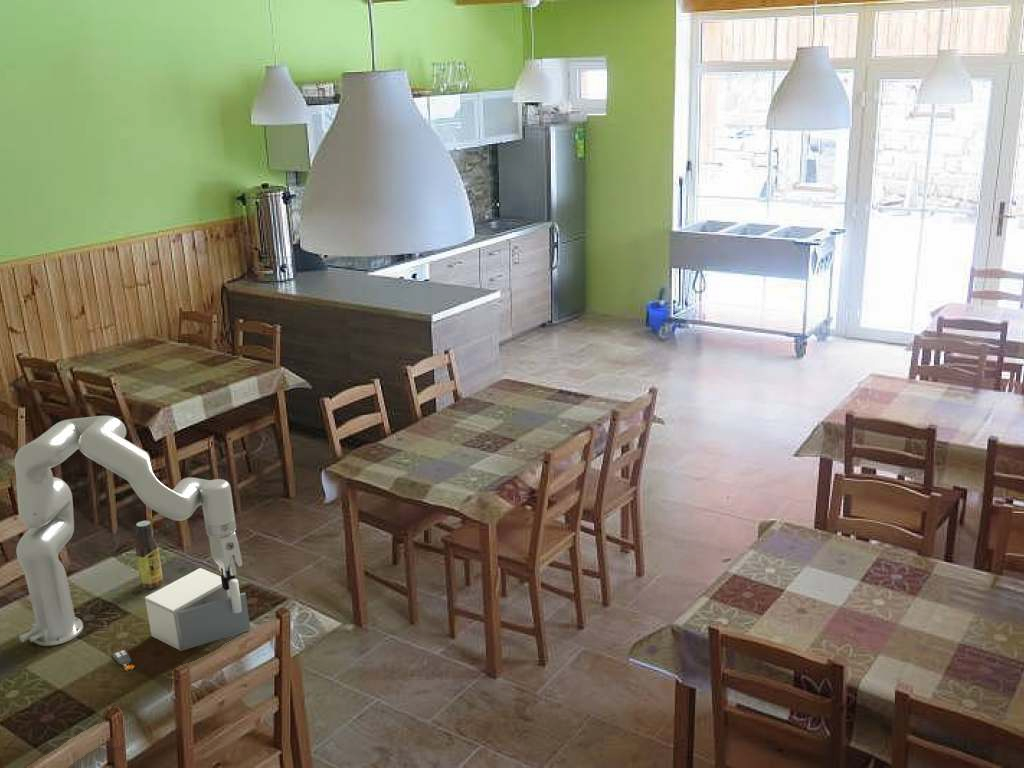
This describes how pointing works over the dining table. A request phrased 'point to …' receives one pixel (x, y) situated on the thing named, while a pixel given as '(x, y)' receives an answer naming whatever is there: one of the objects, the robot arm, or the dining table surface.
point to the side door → (213, 619)
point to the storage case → (181, 601)
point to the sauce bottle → (148, 557)
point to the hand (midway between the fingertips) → (229, 587)
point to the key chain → (123, 659)
